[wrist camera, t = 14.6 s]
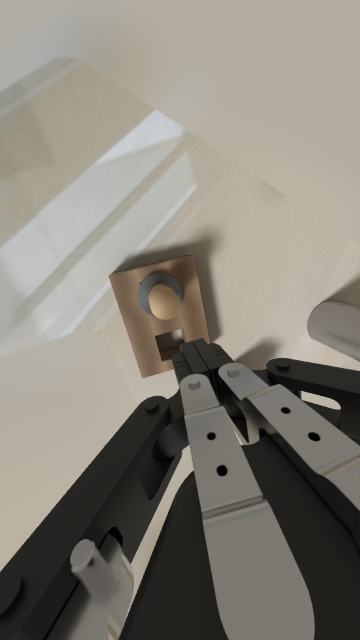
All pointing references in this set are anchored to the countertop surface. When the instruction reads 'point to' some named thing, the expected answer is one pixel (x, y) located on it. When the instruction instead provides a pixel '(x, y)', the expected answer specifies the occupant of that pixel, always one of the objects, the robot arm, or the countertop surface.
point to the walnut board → (148, 326)
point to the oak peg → (160, 295)
